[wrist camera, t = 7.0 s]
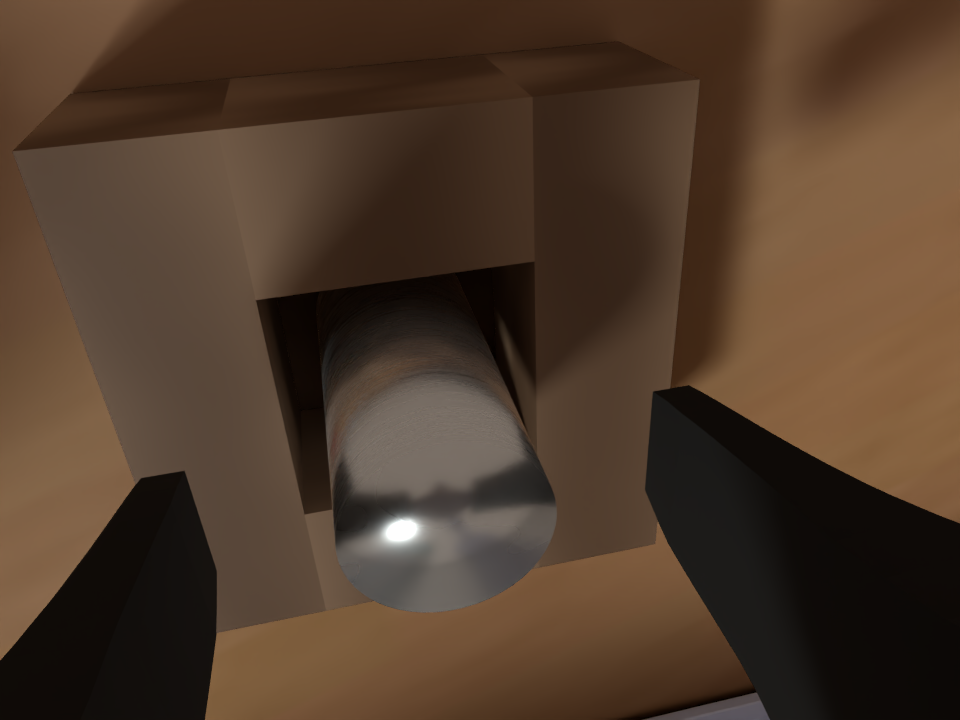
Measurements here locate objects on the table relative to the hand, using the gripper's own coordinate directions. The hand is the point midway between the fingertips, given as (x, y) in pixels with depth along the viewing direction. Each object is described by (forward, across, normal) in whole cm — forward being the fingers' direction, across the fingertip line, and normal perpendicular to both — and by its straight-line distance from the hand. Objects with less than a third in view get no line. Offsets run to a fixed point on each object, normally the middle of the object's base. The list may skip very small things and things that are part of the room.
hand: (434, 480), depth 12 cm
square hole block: (+6, 0, 0) cm, 6 cm away
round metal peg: (+6, 0, 0) cm, 6 cm away
